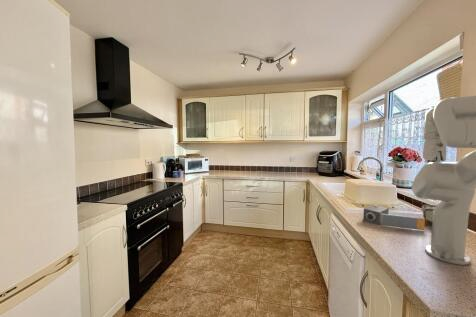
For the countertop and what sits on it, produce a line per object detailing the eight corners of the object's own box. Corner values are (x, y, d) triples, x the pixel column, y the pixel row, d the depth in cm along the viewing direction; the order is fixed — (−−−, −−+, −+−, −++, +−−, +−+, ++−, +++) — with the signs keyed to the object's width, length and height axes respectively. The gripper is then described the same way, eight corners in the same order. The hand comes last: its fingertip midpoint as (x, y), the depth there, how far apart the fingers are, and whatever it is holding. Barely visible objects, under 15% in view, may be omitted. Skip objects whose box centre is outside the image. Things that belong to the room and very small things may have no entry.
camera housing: (377, 225, 111) (378, 212, 110) (362, 221, 118) (362, 208, 117) (387, 220, 119) (388, 207, 118) (372, 215, 125) (373, 203, 125)
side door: (380, 225, 111) (381, 213, 110) (379, 224, 112) (380, 213, 111) (424, 230, 104) (425, 218, 104) (423, 230, 105) (424, 217, 104)
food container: (438, 222, 115) (440, 204, 114) (448, 227, 109) (450, 208, 108) (414, 221, 117) (415, 204, 116) (423, 226, 111) (424, 207, 110)
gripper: (455, 135, 89) (451, 178, 91) (435, 136, 103) (432, 173, 105) (433, 136, 91) (430, 177, 93) (417, 136, 106) (414, 172, 107)
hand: (431, 175), depth 99 cm, fingers closed
